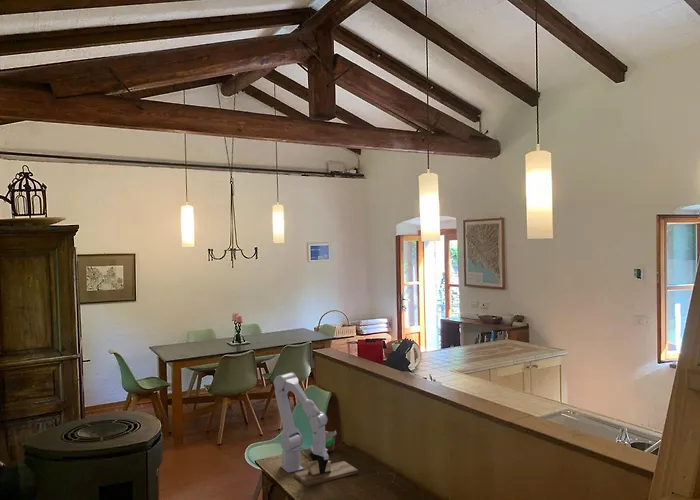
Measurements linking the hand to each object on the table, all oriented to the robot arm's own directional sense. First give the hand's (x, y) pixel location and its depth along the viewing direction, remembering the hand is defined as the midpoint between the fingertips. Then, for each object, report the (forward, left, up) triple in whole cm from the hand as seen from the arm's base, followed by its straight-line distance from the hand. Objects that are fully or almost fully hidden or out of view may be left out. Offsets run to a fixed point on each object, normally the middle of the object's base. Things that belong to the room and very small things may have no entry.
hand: (319, 470), depth 245 cm
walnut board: (0, +3, -2) cm, 4 cm away
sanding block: (0, 0, -1) cm, 1 cm away
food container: (-27, +16, -3) cm, 32 cm away
